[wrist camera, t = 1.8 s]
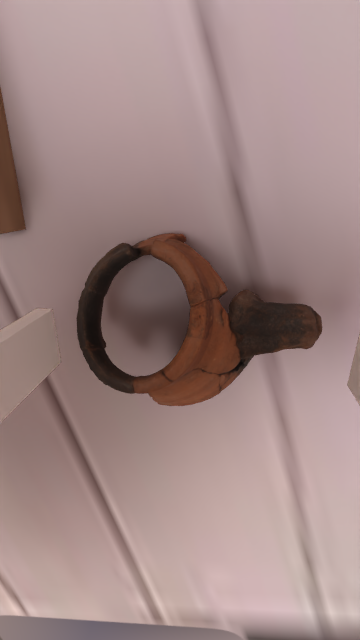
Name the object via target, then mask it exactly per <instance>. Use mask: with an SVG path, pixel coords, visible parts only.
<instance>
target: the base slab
mask: <svg viewBox="0 0 360 640" xmlns="http://www.w3.org/2000/svg"><path fill="white" fill-rule="evenodd" d="M24 229H26V227H25V221H24V216H23V210H22V205H21V199H20V194H19V188H18V182H17V177H16V171H15V166H14V160H13V155H12V149H11V143H10V138H9V132H8V127H7V121H6V115H5V110H4V104H3V99H2V93H1V88H0V234H2V233H7V232H13V231H18V230H24Z"/></svg>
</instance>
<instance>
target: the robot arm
mask: <svg viewBox="0 0 360 640" xmlns="http://www.w3.org/2000/svg"><path fill="white" fill-rule="evenodd" d="M60 363H61V357H60V351H59V345H58V339H57V333H56V327H55V321H54V315H53V309H44V308H36V309H35V310H33V311H31V312H30V313H28V314H26V315H25V316H23V317H21V318H20V319H18V320H16V321H15V322H13V323H11V324H10V325H8V326H6V327H5V328H3V329H1V330H0V423H1V422H2V421H3V420H4V419H5V418H6V417H7V416H8V415H9V414H10V413H11V412H12V411H13V410H14V409H15V408H16V407H17V406H18V405H19V404H20V403H21V402H22V401H23V400H24V399H25V398H26V397H27V396H28V395H29V394H30V393H31V392H32V391H33V390H34V389H35V388H36V387H37V386H38V385H39V384H40V383H41V382H42V381H43V380H44V379H45V378H46V377H47V376H48V375H49V374H50V373H51V372H52V371H53V370H54V369H55V368H56V367H57V366H58V365H59V364H60ZM347 385H348V387H349V389H350V390H351V392H352V394H353V395H354V397H355V398H356V400H357V402H358V403H359V405H360V334H359V338H358V343H357V347H356V351H355V355H354V359H353V363H352V367H351V371H350V376H349V380H348V384H347Z"/></svg>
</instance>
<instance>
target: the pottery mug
mask: <svg viewBox="0 0 360 640" xmlns="http://www.w3.org/2000/svg"><path fill="white" fill-rule="evenodd" d="M184 242H186V237H185V236H184V235H183V234H162V235H157V236H154V237H151V238H148V239H147V240H145V241H141V242H139V243H138V244H136V245H134V246H131V245H129V244H126V243H122V244H119V245H118V246H116V247H115V248H113V249H112V250H110V251H109V252H108V253H107V254H106V255H105V256H104V257H103V258H102V259H101V260H100V261H99V262H98V263H97V264H96V265H95V267H94V268H93V270H92V271H91V273H90V275H89V276H88V279H87V281H86V283H85V288H84V290H83V291H82V294H81V297H80V300H79V308H78V314H77V333H78V340H79V344H80V348H81V350H82V351H83V355H84V357H85V359H86V361H87V363H88V364H89V367H90V369H91V370H92V371H93V372H94V373H95V375H96V376H97V377H98V379H99V380H101V381H102V382H103V383H104V384H105V385H108V386H110V387H112V388H114V389H116V390H118V391H121V392H125V393H130V394H132V393H139V394H140V393H149V395H150V397H152V398H153V400H154V401H156V402H157V403H158V404H161V405H168V406H185V405H191V404H195V403H199V402H202V401H205V400H208V399H210V398H212V397H214V396H216V395H217V394H219V393H220V392H221V391H222V390H223V389H225V388H226V387H227V386H228V385H229V384H231V383H232V382H233V381H234V380H235V378H236V377H237V376H238V375H239V374H240V373H241V372H242V371H243V369H244V368H245V367H246V366H247V364H248V363H249V361H250V360H251V358H253V357H254V355H259V354H265V353H273V352H277V351H280V350H283V349H295V348H303V349H308V348H311V347H312V346H313V345H314V343H315V342H316V340H317V339H318V338H319V335H320V334H321V332H322V321H321V317H320V316H319V315H318V314H317V313H316V312H315V311H314V310H313V309H312V308H311V307H310V306H307V305H303V304H281V303H267V302H264V301H262V300H261V299H260V298H259V297H258V295H256V294H255V295H254V293H253V292H250V291H249V290H243V291H241V292H239V293H238V295H236V296H235V297H234V298H233V299H232V300H231V303H230V305H229V313H227V312H226V310H225V309H224V308H223V307H222V305H221V303H220V301H219V298H220V297H221V296H222V295H224V294H225V293H226V292H227V291H228V289H227V287H226V285H225V283H224V282H223V281H222V279H221V278H220V277H219V275H218V274H217V273H216V272H215V271H214V269H213V268H212V266H211V265H210V263H209V262H208V261H207V260H205V259H204V258H203V257H202V256H201V255H200V254H198V253H197V252H196V251H195V250H194V249H193V248H191V247H190V246H189V245H187V244H185V243H184ZM150 254H151V255H152V256H153V257H155V258H157V259H159V260H162V261H164V262H165V263H167V264H168V265H169V266H171V267H172V268H173V269H174V270H175V271H176V273H177V274H178V276H179V277H180V279H181V280H182V282H183V285H184V287H185V290H186V293H187V297H188V300H189V304H190V306H191V309H190V319H189V325H188V329H187V334H186V337H185V340H184V342H183V344H182V346H181V348H180V350H179V352H178V353H177V355H176V356H175V358H174V359H173V360H172V361H171V362H170V363H169V364H168V365H167V366H166V367H164V368H163V369H162V370H160V371H158V372H156V373H154V374H151V375H148V376H138V377H135V376H131V375H129V374H126V373H125V372H123V371H121V370H120V369H119V368H117V367H116V366H115V365H114V364H113V363H112V362H111V360H110V359H109V357H108V355H107V354H106V352H105V349H104V348H106V343H105V341H104V339H103V337H102V332H101V315H102V307H103V300H104V297H105V295H106V294H107V291H108V289H109V287H110V285H111V283H112V280H113V279H114V277H115V276H116V275H117V273H118V272H119V271H120V270H121V269H122V268H123V267H124V266H126V265H127V264H128V263H130V262H132V261H134V260H136V259H138V258H140V257H141V256H144V255H150Z"/></svg>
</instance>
